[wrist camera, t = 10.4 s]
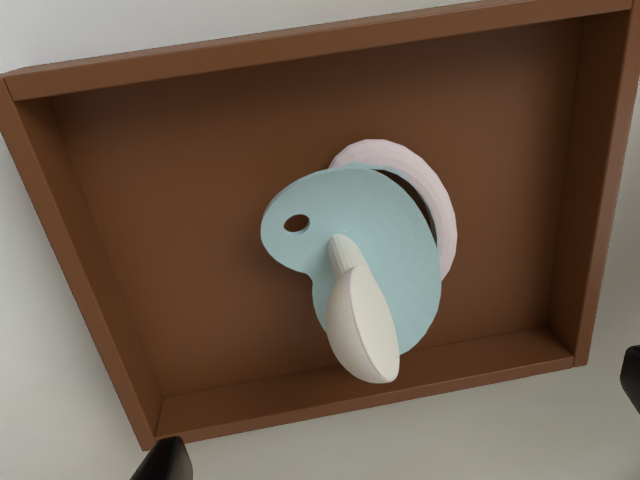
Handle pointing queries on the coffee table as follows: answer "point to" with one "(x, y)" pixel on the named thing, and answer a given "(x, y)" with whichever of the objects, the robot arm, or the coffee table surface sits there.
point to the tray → (276, 174)
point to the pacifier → (368, 252)
